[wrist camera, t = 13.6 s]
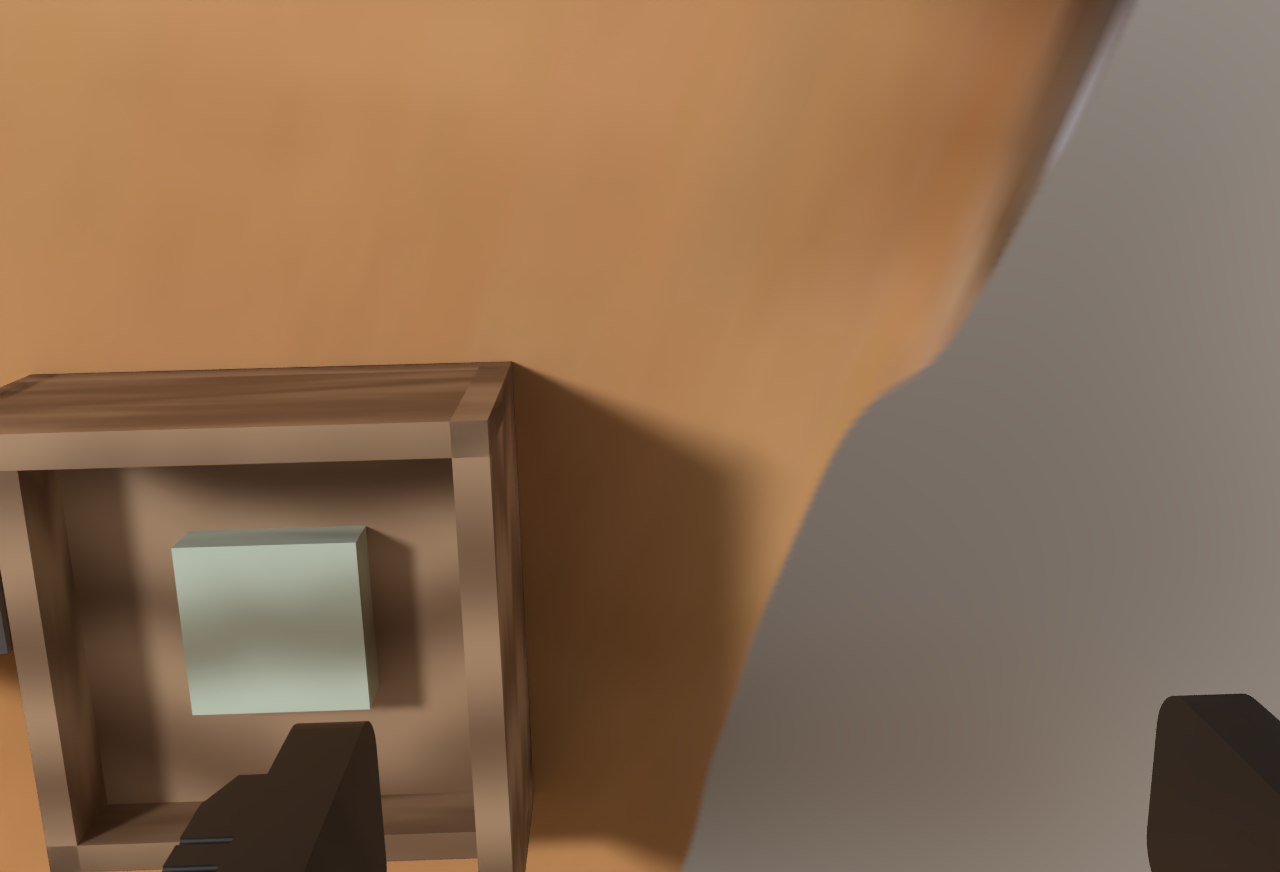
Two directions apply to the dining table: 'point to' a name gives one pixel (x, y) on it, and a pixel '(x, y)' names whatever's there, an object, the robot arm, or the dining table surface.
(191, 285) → the dining table surface
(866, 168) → the dining table surface
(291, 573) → the crate
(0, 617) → the felt pad
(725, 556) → the dining table surface
